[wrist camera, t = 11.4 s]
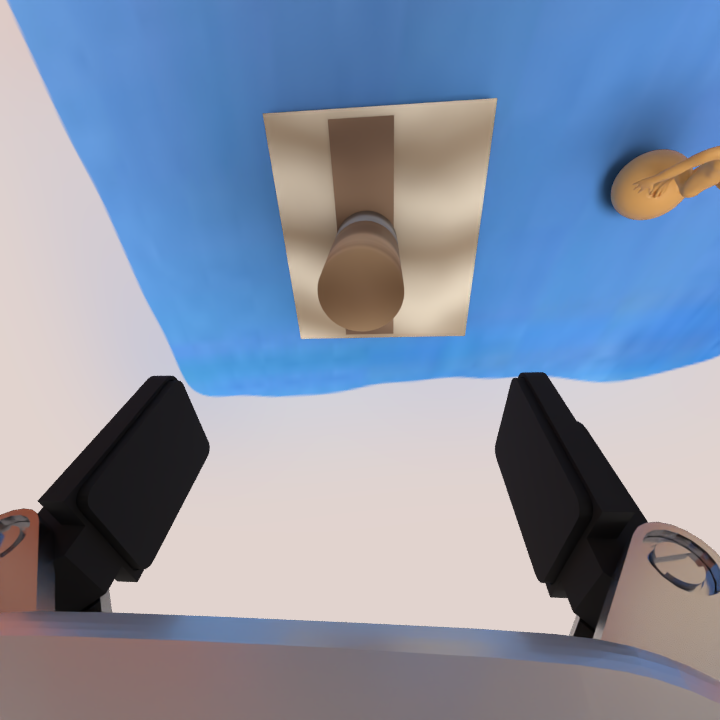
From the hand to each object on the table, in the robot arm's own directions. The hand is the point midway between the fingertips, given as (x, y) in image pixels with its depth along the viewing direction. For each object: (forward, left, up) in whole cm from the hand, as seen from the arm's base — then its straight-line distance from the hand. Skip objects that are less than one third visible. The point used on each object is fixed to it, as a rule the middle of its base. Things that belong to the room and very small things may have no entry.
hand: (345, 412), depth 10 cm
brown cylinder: (0, 0, -18) cm, 18 cm away
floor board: (0, +1, -20) cm, 20 cm away
